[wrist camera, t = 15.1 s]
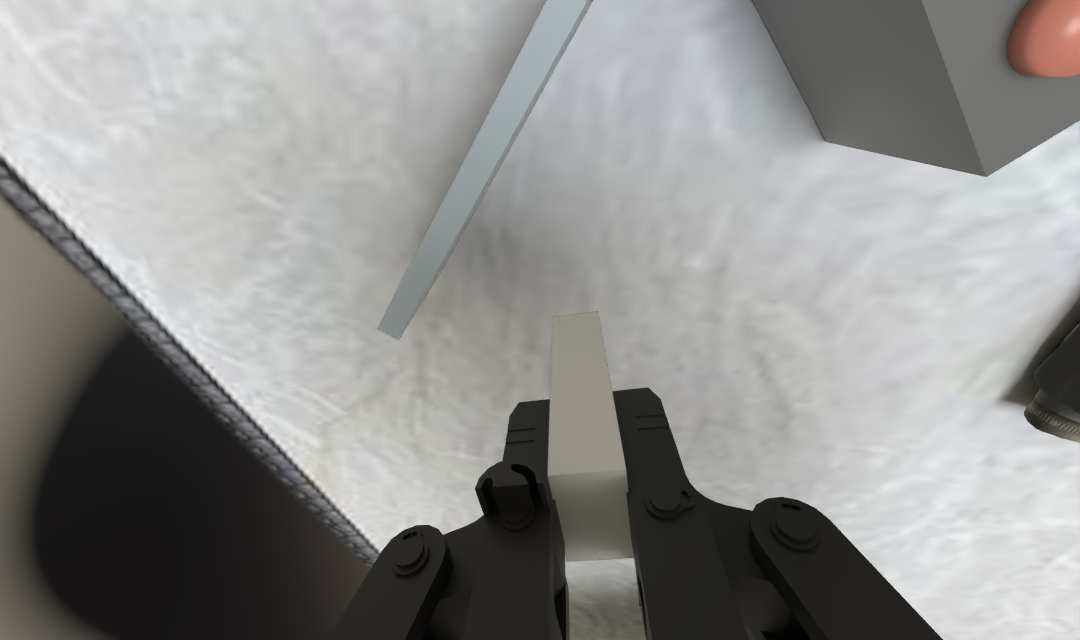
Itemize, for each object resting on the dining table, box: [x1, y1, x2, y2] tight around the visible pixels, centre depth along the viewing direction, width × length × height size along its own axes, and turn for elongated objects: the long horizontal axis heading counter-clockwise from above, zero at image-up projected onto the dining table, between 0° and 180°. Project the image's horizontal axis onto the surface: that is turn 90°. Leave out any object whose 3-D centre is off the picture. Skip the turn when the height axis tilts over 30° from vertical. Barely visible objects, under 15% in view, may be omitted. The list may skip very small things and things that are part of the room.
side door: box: [377, 0, 593, 340], centre depth 16 cm, size 1×21×8 cm, turn 147°
